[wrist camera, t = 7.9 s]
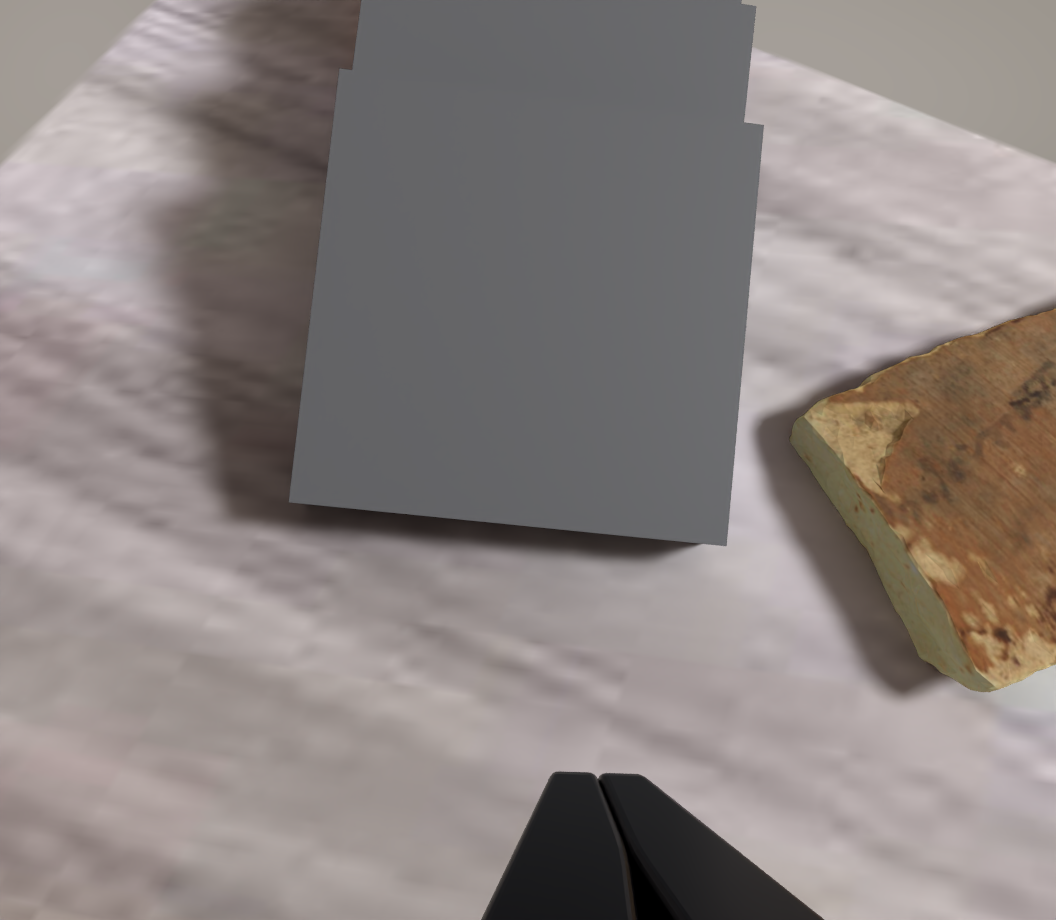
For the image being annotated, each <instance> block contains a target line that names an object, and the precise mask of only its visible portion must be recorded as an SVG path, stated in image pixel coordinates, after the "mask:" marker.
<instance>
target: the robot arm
mask: <svg viewBox="0 0 1056 920" xmlns="http://www.w3.org/2000/svg"><path fill="white" fill-rule="evenodd" d="M481 920H824V919H823V918H822V917H820V916H819V915H818V914H817V913H815V912H814V911H813V910H812V909H810V908H809V907H808V906H807V905H805V904H804V903H803V902H802V901H800V900H799V899H798V898H797V897H795V896H794V895H793V894H791V893H790V892H789V891H788V890H786V889H785V888H784V887H783V886H781V885H780V884H779V883H778V882H776V881H775V880H774V879H773V878H771V877H770V876H769V875H768V874H766V873H765V872H764V871H763V870H761V869H760V868H759V867H758V866H756V865H755V864H754V863H753V862H751V861H750V860H749V859H748V858H746V857H745V856H744V855H742V854H741V853H740V852H739V851H737V850H736V849H735V848H734V847H732V846H731V845H730V844H729V843H727V842H726V841H725V840H724V839H722V838H721V837H720V836H719V835H717V834H716V833H715V832H714V831H712V830H711V829H710V828H709V827H707V826H706V825H705V824H704V823H702V822H701V821H700V820H699V819H697V818H696V817H695V816H693V815H692V814H691V813H690V812H688V811H687V810H686V809H685V808H683V807H682V806H681V805H680V804H678V803H677V802H676V801H675V800H673V799H672V798H671V797H670V796H668V795H667V794H666V793H665V792H663V791H662V790H661V789H660V788H658V787H657V786H656V785H655V784H653V783H652V782H651V781H650V780H648V779H647V778H645V777H644V776H642V775H639V774H620V773H604V774H602V775H600V776H599V778H598V779H597V777H596V776H595V775H594V774H592V773H588V772H555V773H553V774H552V775H551V776H550V778H549V780H548V782H547V784H546V786H545V788H544V790H543V792H542V794H541V797H540V799H539V801H538V803H537V805H536V807H535V809H534V811H533V813H532V815H531V817H530V819H529V821H528V824H527V826H526V828H525V830H524V832H523V834H522V836H521V838H520V840H519V842H518V844H517V846H516V849H515V851H514V853H513V855H512V857H511V859H510V861H509V863H508V865H507V867H506V869H505V871H504V873H503V876H502V878H501V880H500V882H499V884H498V886H497V888H496V890H495V892H494V894H493V896H492V898H491V900H490V903H489V905H488V907H487V909H486V911H485V913H484V915H483V917H482V919H481Z"/></svg>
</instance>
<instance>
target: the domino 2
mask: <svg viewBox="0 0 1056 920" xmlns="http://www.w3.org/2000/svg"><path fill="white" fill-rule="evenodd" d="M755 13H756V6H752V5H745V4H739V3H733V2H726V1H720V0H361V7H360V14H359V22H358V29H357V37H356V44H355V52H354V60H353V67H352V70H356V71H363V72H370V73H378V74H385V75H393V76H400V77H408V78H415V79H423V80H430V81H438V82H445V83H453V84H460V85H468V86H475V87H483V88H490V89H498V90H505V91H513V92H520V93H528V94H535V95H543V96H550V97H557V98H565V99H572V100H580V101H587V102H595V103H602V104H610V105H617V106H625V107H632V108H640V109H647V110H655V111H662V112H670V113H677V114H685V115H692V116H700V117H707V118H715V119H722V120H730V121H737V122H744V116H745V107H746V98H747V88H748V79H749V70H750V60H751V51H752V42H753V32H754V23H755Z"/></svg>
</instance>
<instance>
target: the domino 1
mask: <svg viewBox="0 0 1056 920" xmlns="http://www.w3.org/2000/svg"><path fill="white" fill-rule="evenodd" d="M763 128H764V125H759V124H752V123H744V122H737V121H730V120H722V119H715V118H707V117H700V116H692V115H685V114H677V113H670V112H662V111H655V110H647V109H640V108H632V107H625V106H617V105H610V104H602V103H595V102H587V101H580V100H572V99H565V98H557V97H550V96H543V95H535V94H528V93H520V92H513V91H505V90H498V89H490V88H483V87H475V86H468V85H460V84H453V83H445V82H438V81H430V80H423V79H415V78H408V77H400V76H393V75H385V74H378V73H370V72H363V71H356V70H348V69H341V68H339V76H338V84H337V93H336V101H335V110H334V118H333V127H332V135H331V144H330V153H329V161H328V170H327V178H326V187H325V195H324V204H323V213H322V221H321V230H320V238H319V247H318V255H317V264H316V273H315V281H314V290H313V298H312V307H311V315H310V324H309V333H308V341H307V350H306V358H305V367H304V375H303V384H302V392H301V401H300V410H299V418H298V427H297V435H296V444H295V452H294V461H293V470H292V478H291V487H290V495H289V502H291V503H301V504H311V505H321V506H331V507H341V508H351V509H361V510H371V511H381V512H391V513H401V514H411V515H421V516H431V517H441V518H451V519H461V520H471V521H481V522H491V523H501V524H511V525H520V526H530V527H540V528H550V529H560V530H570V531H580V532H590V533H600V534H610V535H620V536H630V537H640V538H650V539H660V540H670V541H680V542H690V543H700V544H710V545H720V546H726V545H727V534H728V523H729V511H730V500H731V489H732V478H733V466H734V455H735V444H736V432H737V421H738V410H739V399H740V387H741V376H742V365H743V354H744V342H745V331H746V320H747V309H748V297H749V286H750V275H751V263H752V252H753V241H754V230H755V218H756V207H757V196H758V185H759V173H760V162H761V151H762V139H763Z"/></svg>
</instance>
